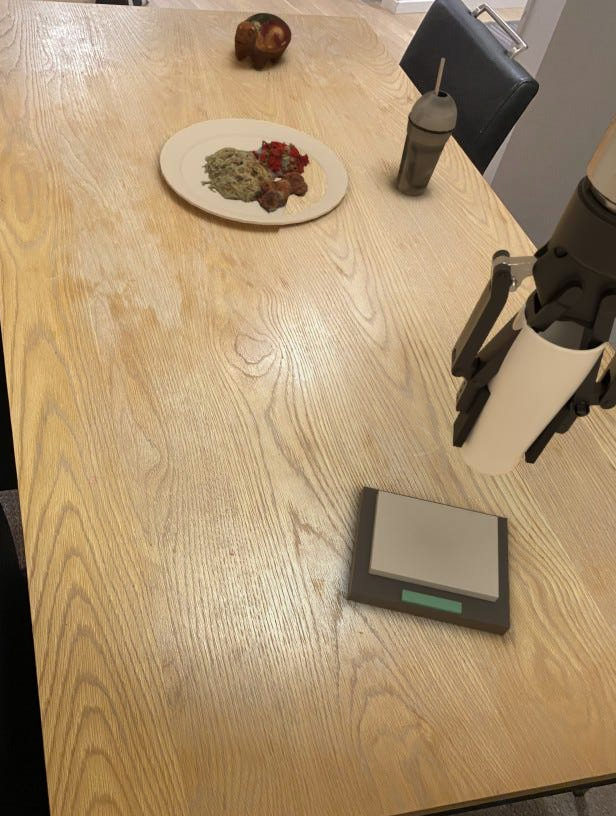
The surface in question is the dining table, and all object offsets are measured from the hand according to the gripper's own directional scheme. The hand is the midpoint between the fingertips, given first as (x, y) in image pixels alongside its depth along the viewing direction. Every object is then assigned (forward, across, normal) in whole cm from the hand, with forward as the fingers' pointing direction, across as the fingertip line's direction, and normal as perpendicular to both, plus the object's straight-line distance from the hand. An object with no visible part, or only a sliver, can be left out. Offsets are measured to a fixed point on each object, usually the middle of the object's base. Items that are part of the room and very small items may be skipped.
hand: (493, 443), depth 66 cm
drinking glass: (+2, 0, 0) cm, 2 cm away
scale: (+19, 0, -1) cm, 19 cm away
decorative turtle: (+19, -37, +108) cm, 116 cm away
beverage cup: (+19, -6, +72) cm, 75 cm away
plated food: (+19, -31, +67) cm, 76 cm away
